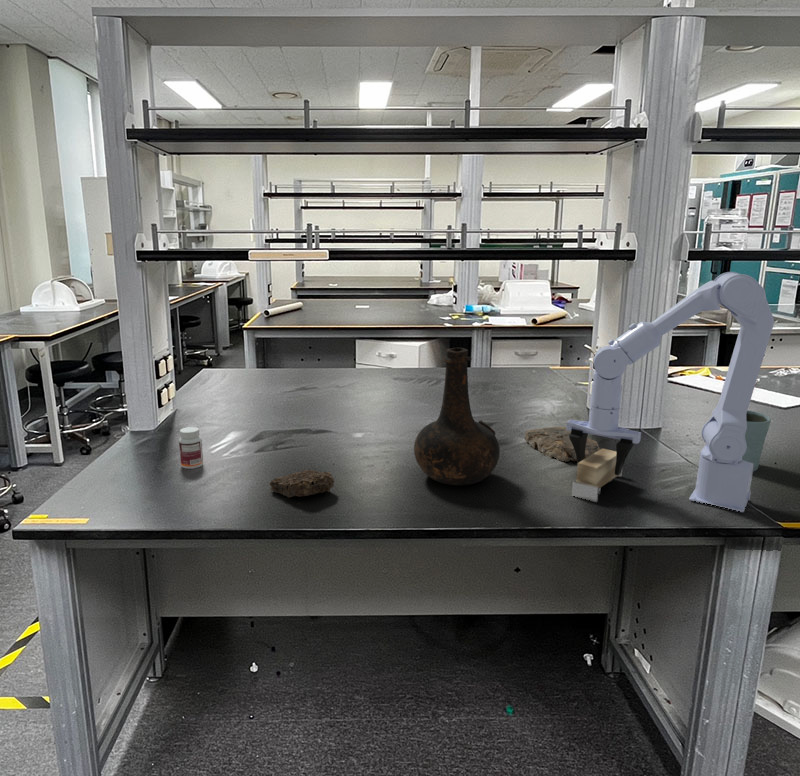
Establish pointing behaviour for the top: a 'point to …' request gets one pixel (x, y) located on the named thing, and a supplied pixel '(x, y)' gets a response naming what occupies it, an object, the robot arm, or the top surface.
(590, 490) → the grey blocks and balls
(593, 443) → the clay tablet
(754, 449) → the green ceramic planter
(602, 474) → the oak block
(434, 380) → the top surface
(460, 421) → the glass bottle
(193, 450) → the pill bottle
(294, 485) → the brown rock
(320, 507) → the top surface
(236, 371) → the top surface
